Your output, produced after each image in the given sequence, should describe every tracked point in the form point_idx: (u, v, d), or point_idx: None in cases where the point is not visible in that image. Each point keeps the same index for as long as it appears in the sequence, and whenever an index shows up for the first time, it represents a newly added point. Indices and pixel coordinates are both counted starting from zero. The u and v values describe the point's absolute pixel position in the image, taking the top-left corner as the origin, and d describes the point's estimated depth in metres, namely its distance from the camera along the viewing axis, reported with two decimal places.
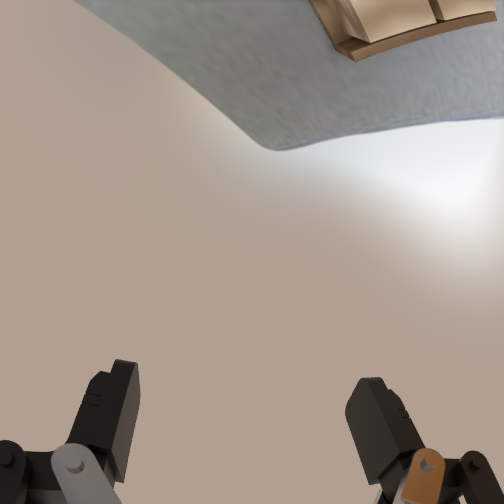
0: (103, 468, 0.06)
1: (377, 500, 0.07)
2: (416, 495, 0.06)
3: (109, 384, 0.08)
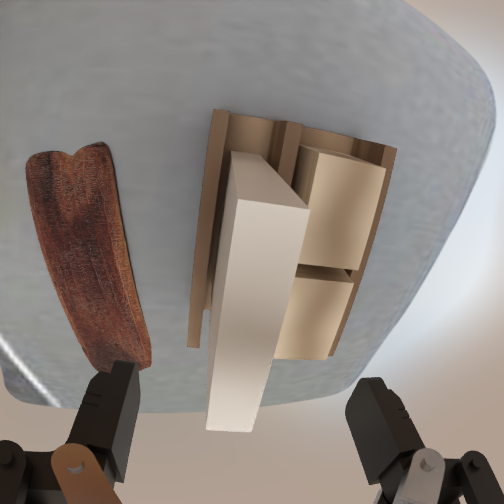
0: (103, 468, 0.06)
1: (377, 500, 0.07)
2: (416, 495, 0.06)
3: (109, 384, 0.08)
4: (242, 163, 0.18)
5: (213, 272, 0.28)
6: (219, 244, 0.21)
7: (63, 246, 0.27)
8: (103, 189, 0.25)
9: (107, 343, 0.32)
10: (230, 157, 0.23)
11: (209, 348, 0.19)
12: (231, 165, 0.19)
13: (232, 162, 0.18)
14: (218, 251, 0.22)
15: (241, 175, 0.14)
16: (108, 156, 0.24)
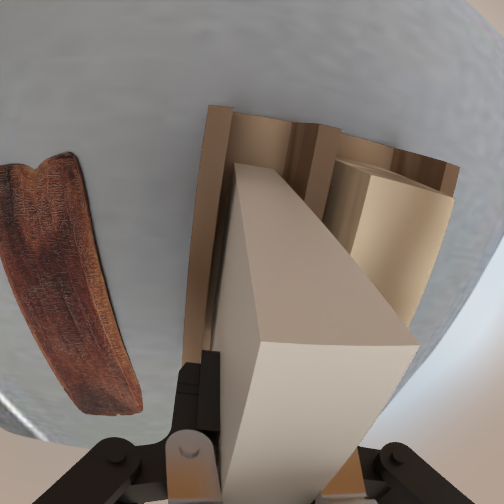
0: None
1: None
2: None
3: (203, 372, 0.09)
4: (253, 189, 0.12)
5: (212, 318, 0.22)
6: (219, 300, 0.15)
7: (31, 280, 0.21)
8: (72, 213, 0.19)
9: (91, 387, 0.26)
10: (234, 174, 0.16)
11: None
12: (236, 191, 0.12)
13: (237, 187, 0.12)
14: (218, 308, 0.16)
15: (256, 224, 0.08)
16: (77, 170, 0.18)
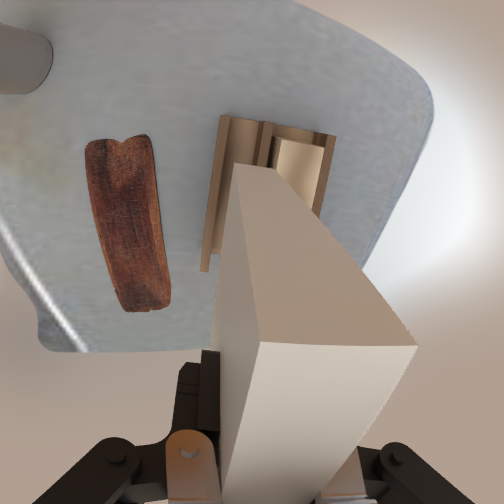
0: None
1: None
2: None
3: (203, 372, 0.09)
4: (253, 189, 0.12)
5: (212, 318, 0.22)
6: (219, 299, 0.15)
7: (111, 207, 0.40)
8: (145, 166, 0.38)
9: (136, 284, 0.45)
10: (234, 173, 0.16)
11: None
12: (236, 191, 0.12)
13: (237, 187, 0.12)
14: (218, 308, 0.16)
15: (256, 224, 0.08)
16: (149, 144, 0.37)
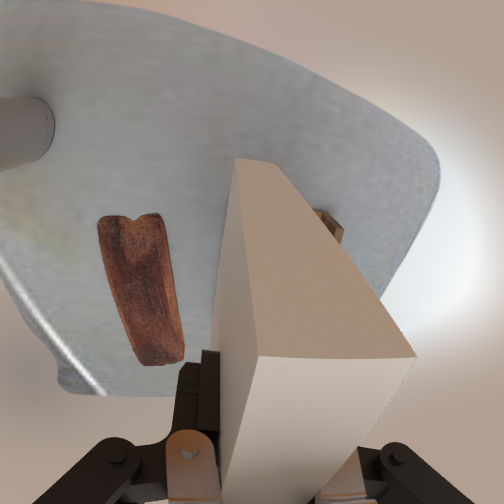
0: (213, 450, 0.07)
1: None
2: None
3: (203, 372, 0.09)
4: (254, 186, 0.12)
5: (213, 312, 0.22)
6: (219, 296, 0.15)
7: (127, 280, 0.43)
8: (158, 245, 0.41)
9: (153, 344, 0.48)
10: None
11: None
12: (236, 188, 0.12)
13: (238, 185, 0.12)
14: (218, 304, 0.16)
15: (256, 225, 0.08)
16: (162, 223, 0.40)
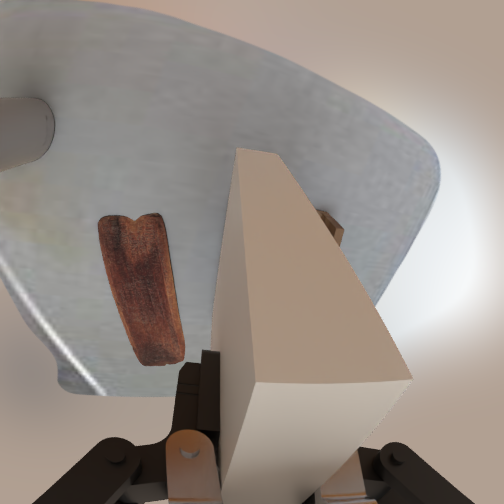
0: (213, 450, 0.07)
1: None
2: None
3: (203, 372, 0.09)
4: (255, 182, 0.12)
5: (214, 302, 0.22)
6: (220, 289, 0.15)
7: (127, 279, 0.43)
8: (159, 245, 0.41)
9: (153, 344, 0.48)
10: (236, 160, 0.16)
11: None
12: (237, 183, 0.12)
13: (239, 181, 0.11)
14: (219, 297, 0.16)
15: (256, 229, 0.08)
16: (162, 223, 0.40)
